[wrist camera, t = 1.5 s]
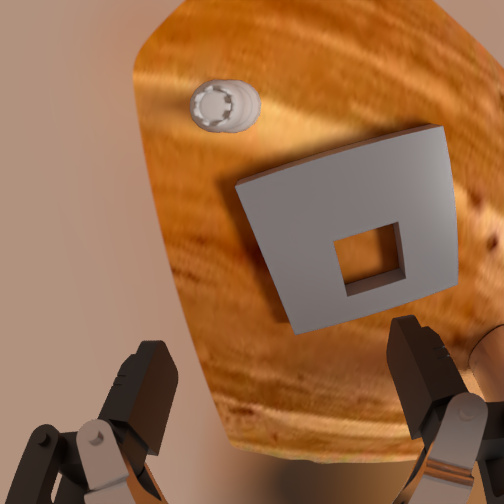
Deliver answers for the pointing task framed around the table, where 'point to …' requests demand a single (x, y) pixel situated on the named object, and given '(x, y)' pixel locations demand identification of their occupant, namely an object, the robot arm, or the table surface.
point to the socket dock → (356, 224)
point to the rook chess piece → (225, 106)
